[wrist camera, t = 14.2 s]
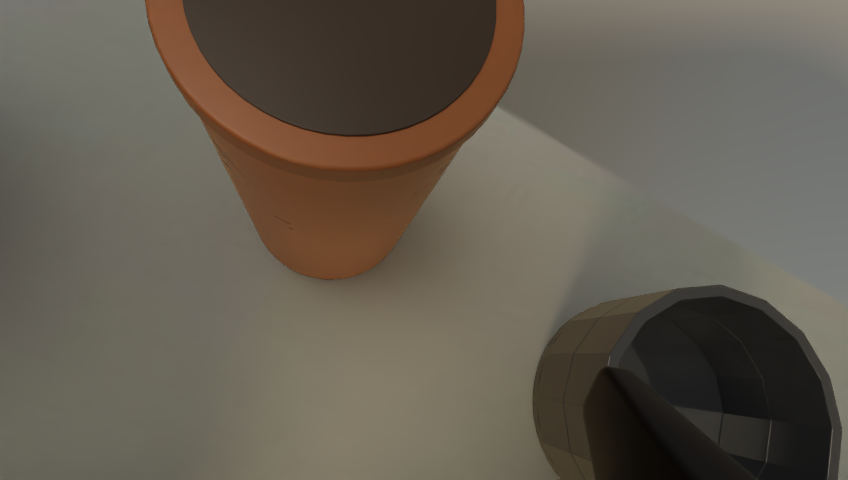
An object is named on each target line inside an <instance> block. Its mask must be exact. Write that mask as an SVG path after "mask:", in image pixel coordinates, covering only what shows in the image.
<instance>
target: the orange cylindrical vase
mask: <svg viewBox="0 0 848 480" xmlns="http://www.w3.org/2000/svg"><path fill="white" fill-rule="evenodd" d="M145 4H146V11H147V17H148V23H149V26H150V29H151V33H152V36H153V39H154V42H155V45H156V48H157V50H158V52H159V54H160V56H161V58H162V60H163V62H164V64H165V66H166V68H167V70H168V72H169V74H170V76H171V77H172V79H173V81H174V83H175V85H176V86H177V88H178V89H179V91H180V92H181V94H182V95H183V97H184V98H185V100H186V101H187V103H188V104H189V105H190V107H191V108H192V109H193V110H194V111H195V112H196V113H197V114H198V115H199V117H200V119H201V121H202V123H203V124H204V126H205V128H206V130H207V132H208V134H209V136H210V138H211V140H212V142H213V144H214V146H215V148H216V150H217V152H218V154H219V156H220V158H221V160H222V162H223V164H224V166H225V168H226V170H227V172H228V174H229V176H230V178H231V180H232V182H233V184H234V186H235V188H236V190H237V192H238V194H239V196H240V198H241V200H242V202H243V204H244V206H245V208H246V210H247V212H248V213H249V215H250V217H251V219H252V221H253V223H254V225H255V227H256V229H257V231H258V233H259V235H260V237H261V239H262V241H263V243H264V244H265V246H266V247H267V249H268V250H269V251H270V252H271V253H272V254H273V255H274V257H276V258H277V259H278V260H279V261H280V262H281V263H283V264H284V265H286V266H287V267H289V268H290V269H292V270H294V271H296V272H298V273H300V274H303V275H306V276H309V277H314V278H319V279H342V278H347V277H352V276H355V275H358V274H361V273H363V272H365V271H367V270H369V269H371V268H372V267H374V266H375V265H377V264H378V263H379V262H380V261H381V260H383V259H384V258H385V257H386V256H387V255H388V254H389V252H390V251H391V250H392V249H393V247H394V246H395V244H396V243H397V241H398V240H399V238H400V237H401V235H402V234H403V232H404V231H405V229H406V228H407V226H408V225H409V223H410V222H411V220H412V219H413V217H414V216H415V214H416V213H417V211H418V210H419V208H420V207H421V206H422V204H423V203H424V201H425V200H426V198H427V197H428V195H429V194H430V192H431V191H432V189H433V188H434V186H435V185H436V183H437V182H438V180H439V179H440V177H441V176H442V174H443V173H444V171H445V170H446V168H447V167H448V165H449V164H450V162H451V161H452V159H453V158H454V156H455V155H456V153H457V152H458V150H459V149H460V147H461V146H462V145H463V143H465V142H466V141H467V140H468V139H469V138H470V137H472V136H473V135H474V134H475V132H476V131H477V130H478V129H479V128H480V127H481V126H482V125H483V123H484V122H485V121H486V120H487V119H488V117H489V116H490V114H491V113H492V112H493V110H494V109H495V107H496V106H497V104H498V103H499V101H500V99H501V98H502V97H503V95H504V93H505V92H506V90H507V89H508V86H509V84H510V82H511V80H512V78H513V76H514V73H515V71H516V68H517V64H518V61H519V58H520V54H521V51H522V44H523V37H524V3H523V0H145Z"/></svg>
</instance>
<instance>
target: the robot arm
mask: <svg viewBox="0 0 848 480" xmlns="http://www.w3.org/2000/svg"><path fill="white" fill-rule="evenodd" d="M582 411H583V419H584V425H585V430H586V435H587V440H588V445H589V450H590V456H591V461H592V466H593V471H594V476H595V480H758V479H757V478H756V477H755V476H753V475H752V474H751V473H750V472H749V471H748V470H746V469H745V468H744V467H743V466H742V465H741V464H740V463H738V462H737V461H736V460H735V459H734V458H733V457H731V456H730V455H729V454H728V453H727V452H726V451H724V450H723V449H722V448H721V447H720V446H719V445H717V444H716V443H715V442H714V441H713V440H712V439H710V438H709V437H708V436H707V435H706V434H705V433H703V432H702V431H701V430H700V429H699V428H698V427H696V426H695V425H694V424H693V423H692V422H691V421H689V420H688V419H687V418H686V417H685V416H684V415H682V414H681V413H680V412H679V411H678V410H677V409H675V408H674V407H673V406H672V405H671V404H670V403H668V402H667V401H666V400H665V399H664V398H663V397H661V396H660V395H659V394H658V393H657V392H656V391H654V390H653V389H652V388H651V387H650V386H649V385H647V384H646V383H645V382H644V381H643V380H642V379H640V378H639V377H638V376H637V375H636V374H635V373H633V372H632V371H631V370H629V369H627V368H623V367H609V366H606V367H603V368H601V369H600V370H599V371H598V373H597V375H596V377H595V379H594V381H593V383H592V385H591V387H590V389H589V391H588V393H587V395H586V397H585V399H584V402H583V409H582Z"/></svg>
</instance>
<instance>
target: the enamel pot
mask: <svg viewBox="0 0 848 480" xmlns="http://www.w3.org/2000/svg"><path fill="white" fill-rule="evenodd" d="M606 366H609V367H623V368H627V369H629V370H631V371H632V372H633V373H635V374H636V375H637V376H638V377H639V378H640V379H642V380H643V381H644V382H645V383H646V384H647V385H649V386H650V387H651V388H652V389H653V390H654V391H656V392H657V393H658V394H659V395H660V396H661V397H663V398H664V399H665V400H666V401H667V402H668V403H670V404H671V405H672V406H673V407H674V408H675V409H677V410H678V411H679V412H680V413H681V414H682V415H684V416H685V417H686V418H687V419H688V420H689V421H691V422H692V423H693V424H694V425H695V426H696V427H698V428H699V429H700V430H701V431H702V432H703V433H705V434H706V435H707V436H708V437H709V438H710V439H712V440H713V441H714V442H715V443H716V444H717V445H719V446H720V447H721V448H722V449H723V450H724V451H726V452H727V453H728V454H729V455H730V456H731V457H733V458H734V459H735V460H736V461H737V462H738V463H740V464H741V465H742V466H743V467H744V468H745V469H746V470H748V471H749V472H750V473H751V474H752V475H753V476H755V477H756V478H757V479H758V480H838V470H839V459H840V448H841V437H842V430H841V429H842V427H841V422H840V418H839V414H838V410H837V405H836V401H835V397H834V392H833V388H832V384H831V380H830V378H829V375H828V373H827V371H826V370H825V368H824V366H823V365H822V363H821V361H820V360H819V358H818V356H817V355H816V353H815V351H814V350H813V348H812V346H811V345H810V343H809V341H808V340H807V338H806V336H805V335H804V333H802V331H801V330H800V329H799V328H797V327H796V326H795V325H794V324H793V323H792V322H790V321H789V320H788V319H787V318H786V317H785V316H783V315H782V314H781V313H780V312H779V311H777V310H776V309H775V308H774V307H773V306H772V305H770V304H769V303H768V302H767V301H765V300H764V299H761V298H758V297H755V296H752V295H749V294H746V293H743V292H741V291H738V290H735V289H732V288H729V287H726V286H723V285H711V286H699V287H688V288H677V289H672V290H667V291H661V292H656V293H651V294H645V295H640V296H635V297H630V298H624V299H619V300H614V301H608V302H603V303H600V304H598V305H597V306H594V307H591V308H589V309H587V310H585V311H583V312H581V313H579V314H577V315H576V316H574V317H573V318H572V319H570V320H569V321H568V322H567V323H566V324H564V325H563V326H562V327H561V328H560V329H559V330H558V332H557V333H556V334H555V335H554V337H553V338H552V339H551V341H550V342H549V344H548V346H547V347H546V349H545V351H544V353H543V355H542V358H541V360H540V362H539V366H538V369H537V372H536V376H535V382H534V388H533V414H534V421H535V426H536V431H537V435H538V438H539V441H540V444H541V447H542V449H543V451H544V453H545V456H546V458H547V460H548V461H549V463H550V465H551V466H552V468H553V469H554V471H555V472H556V474H557V475H558V476H559V477H560V479H561V480H595V476H594V471H593V466H592V461H591V456H590V450H589V445H588V440H587V435H586V430H585V425H584V419H583V411H582V409H583V402H584V399H585V397H586V395H587V393H588V391H589V389H590V387H591V385H592V383H593V381H594V379H595V377H596V375H597V373H598V371H599V370H600V369H601V368H603V367H606Z"/></svg>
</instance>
